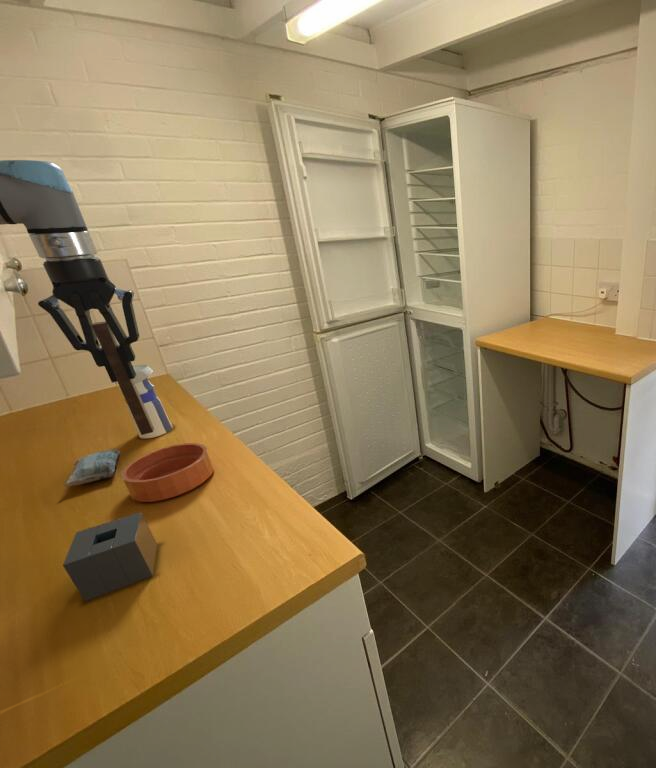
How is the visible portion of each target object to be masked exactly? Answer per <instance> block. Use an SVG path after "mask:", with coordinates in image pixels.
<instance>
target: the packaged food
mask: <svg viewBox="0 0 656 768" xmlns="http://www.w3.org/2000/svg"><path fill="white" fill-rule="evenodd" d="M120 457H121V450H119V449H109V450H101V451H96V452H94V453H91V454H90V453H89V454H88V455H86V456H83V457H81V458H79V459H77V460H76V461H75V462H74V468H73V471H72V473H71V474H70V476H69V477H68V479H67V481H66V483H64V484H63V487H71V486H79V485H84V484H89V483H92V482H97V481H101V480H105V479H109V478H112V477H115V475H116V472H117V467H118V463H119V462H120Z"/></svg>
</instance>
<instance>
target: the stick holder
mask: <svg viewBox="0 0 656 768" xmlns="http://www.w3.org/2000/svg"><path fill="white" fill-rule="evenodd" d="M70 544H71V545H70V546H69V549H68V552H67V553H66V556H65V559H64V561H63V563H62V567H63V569H64V570H65V572H66V573H67V575H68V576H69V578H70V579H71V581H72V583H73V584H74V586H75V588H76V589H77V591H78V592H79V594H80V596H81V597H82V599H83V600H84V602H87V601H90V600H93V599H96V598H98V597H100V596H104V595H105V594H108V593H111V592H113V591H117V590H119V589H123V588H125V587H127V586H130V585H132V584H135V583H138V582H141V581H142V580H146V579H148V578H151V577H153V575H154V569H155V563H156V557H157V551H158V543H157V541H156V539H155V537H154V535H153V533H152V531H151V528H150V527H149V524H148V523H147V520H146V519H145V516H144V514H143V512H142V511H140V512H137V513H132V514H130V515H127V516H124V517H120V518H117V519H114V520H111V521H108V522H104V523H101V524H98V525H93V526H92V527H88V528H85V529H82V530H78V531H76V532H75V534H74V537H73V539H72V542H71V543H70Z"/></svg>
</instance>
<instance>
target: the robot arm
mask: <svg viewBox="0 0 656 768" xmlns="http://www.w3.org/2000/svg"><path fill="white" fill-rule="evenodd" d="M21 224H22V225H23V226H24V227H25V229H26V231H27V234H28V236H29V238H30V240H31V243H32V245H33V247H34V249H35V251H36V253H37V255H38V257H39V258H41V259H44V260H45V261H43V263H42V266H43V268H44V270H45V272H46V274H47V277H48V278H49V280H50V283H51V285H52V295H50V296H48V297H46V298H44V299H41V300H39V301H38V302H37V305H38V306H39V307H40V308H41V309H42V310H44V311H46V312H47V313H48V314H49V315H50V316H51V318H52V319H53V320H54V322H55V323H56V325H57V326H58V328H59V329H60V330H61V332H62V333H63V335H64V336H65V338H66V339H67V341H68V342H69V343H70V344H71V346H72V348H73V349H74V351H75V350H76V351H86V352H89V353H90V354H91V357H92V359H93V361H94V362H95V365H96V366H97V367H98V368H102V367H104V369H105V370H106V373H107V375H108V378H109V380H110V383H115V382H117V380H116V377H115V375H114V373H113V371H112V369H111V366H110V364H109V362H108V360H107V358H106V355H105V353H104V351H103V349H102V347H101V345H100V342H99V340H98V338H97V336H96V333H95V331H94V329H93V327H92V324H93V323H94V322H93V320H92V316H91V311H90V310H98V313H99V314H100V315H101V316H102V317H103V319H104V320H105V321H106V322H107V324H108V326H109V328H110V329H111V331H112V333H113V335H114V337H115V340H116V342H117V344H118V347H117V348H116V350H117V352H118V354H119V357H120V359H121V361H122V363H123V366H124V368H125V370H126V373H127V375H128V377H129V379H134V378H135V376H136V373H135V370H134V368H133V366H132V365H133V364H132V362H135V361H136V354H135V352H134V349H133V347H132V344H133V343H135V342H138V341H139V339H140V332H139V327H138V323H137V318H136V314H135V313H136V312H135V308H134V305H133V300H134V296H135V291H134V290H132V289H123V288H120V287H116V285H115V284H114V283H113V282H112V281H111V280H110V278H109V277H108V274H107V272H106V270H105V267H104V265H103V263H102V259H101V258H99V257H97V256H95V255H97V254H98V250H97V248H96V245H95V242H94V241H93V238H92V235H91V234H90V231H89V230H88V227H87V224H86V222H85V219H84V217H83V214H82V211H81V209H80V207H79V204H78V202H77V199H76V196H75V194H74V192H73V190H72V188H71V187H70V184H69V181H68V180H67V178H66V175H65V174H64V171H63V170H62V168H61V167H60V166H59V165H57V164H56V163H53V162H50V161H45V160H33V159H32V160H31V159H3V160H0V225H1V226H3V225H21ZM114 295H116V296H117V300H119V301H120V302H121V307H122V312H123V315H124V319H125V320H124V321H125V323H126V324H125V326H126V329H127V333H128V335H127V334H126V332H125V330H124V329H123V327H122V325H121V323H120V322H119V320H118V318H117V316H116V315H115V312H114V311H113V308H112V306H111V301H112V299H113V298H114ZM60 301H61V302H62V303H64V304H66V305H68V306H69V307H71V308H72V309H74V312H75V314H76V315H75V316H76V317H77V318H78V321H79V324H80V328H81V331H82V335H83V337H84V339H83V338H82V336H81V335H80V333H79V331H78V330H77V329H76V327H75V325H73V323H72V322H71V320H70V319H69V317H68V316H67V314H66V312H65V311H64V310H63V309H62V308H61V306H62V303H61V302H60ZM117 383H118V382H117Z"/></svg>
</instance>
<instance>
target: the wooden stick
mask: <svg viewBox="0 0 656 768" xmlns="http://www.w3.org/2000/svg"><path fill="white" fill-rule="evenodd" d="M92 323H93V324H92V327H93V329H94V331H95V333H96V336H97V339H98V342H99V344H100V348H102V349H103V351H104V353H105V355H106V358H107V360H108V362H109V364H110V366H111V369H112V371H113V373H114V375H115V377H116V380H117V385H118V386H119V389H120V391H121V394H122V393H123V395H122V396H123V397H124V401H125V400H126V402H127V404H126V405H127V407H128V406H129V409H130V411H131V413H132V415H133V417H134V420H135V422H136V424H137V426H138V428H139V431H140V433H141V435H143V434H148V433H152V432H153V431H154V427H153V425H152V422H151V420H150V418H149V415H148V413H147V411H146V408H145V406H144V404H143V402H142V399H141V397H140V395H139V392H138V390H137V388H136V386H135V383H134V381H133V379H129V377H128V375H127V373H126V370H125V368H124V366H123V363H122V361H121V359H120V357H119V354H118V352H117V350H116V348H117V347H118V345H119V343H118V341H117V340H116V338H115V336H114V334H113V333H112V331H111V329H110V328H109V326H108V324H107V322H106V321H97V322H92ZM126 402H125V403H126ZM129 409H128V410H129Z"/></svg>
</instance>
